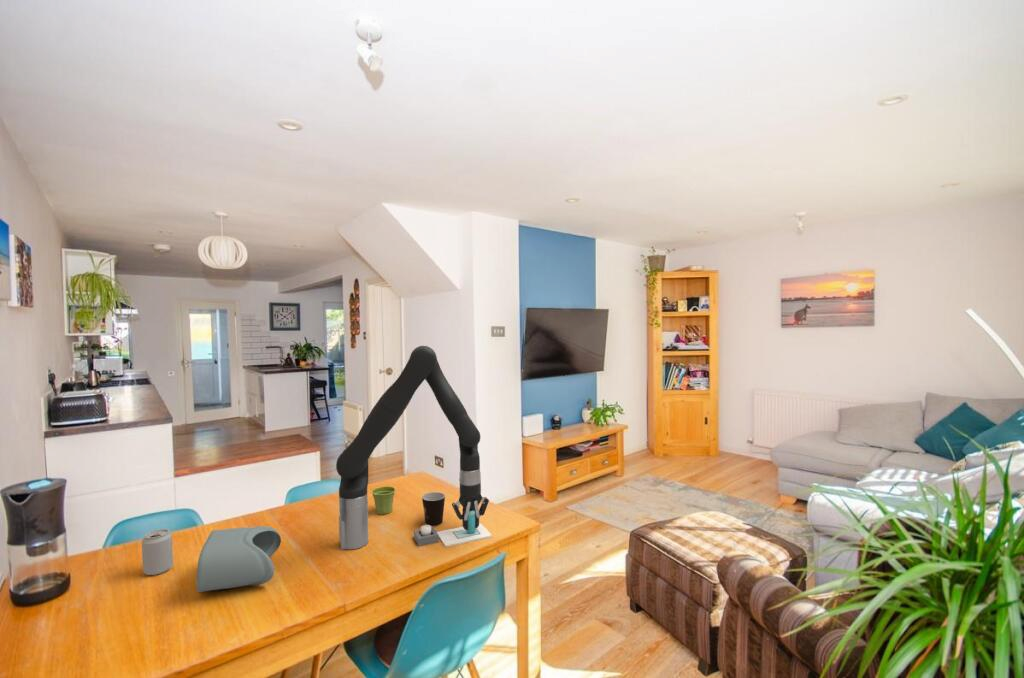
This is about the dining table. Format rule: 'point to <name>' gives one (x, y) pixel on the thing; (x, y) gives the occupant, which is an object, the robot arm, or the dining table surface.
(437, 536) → the button frame
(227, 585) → the grey scooped bin
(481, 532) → the sheet
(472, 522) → the marker
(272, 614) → the dining table surface
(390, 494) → the plant pot
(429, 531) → the button
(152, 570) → the can
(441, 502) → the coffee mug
